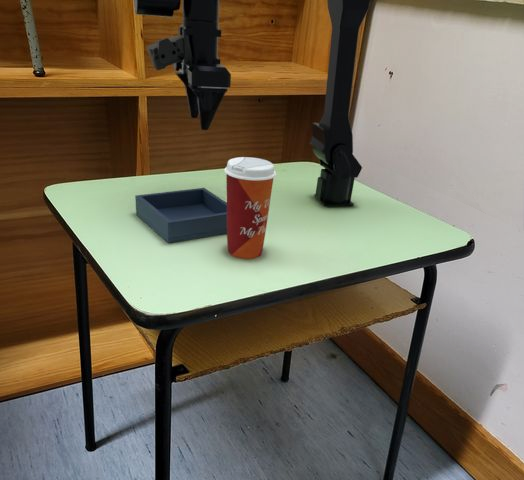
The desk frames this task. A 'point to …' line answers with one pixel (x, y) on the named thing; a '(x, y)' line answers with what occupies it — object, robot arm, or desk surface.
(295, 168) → the desk surface
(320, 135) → the robot arm
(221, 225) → the open square box
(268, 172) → the paper cup
